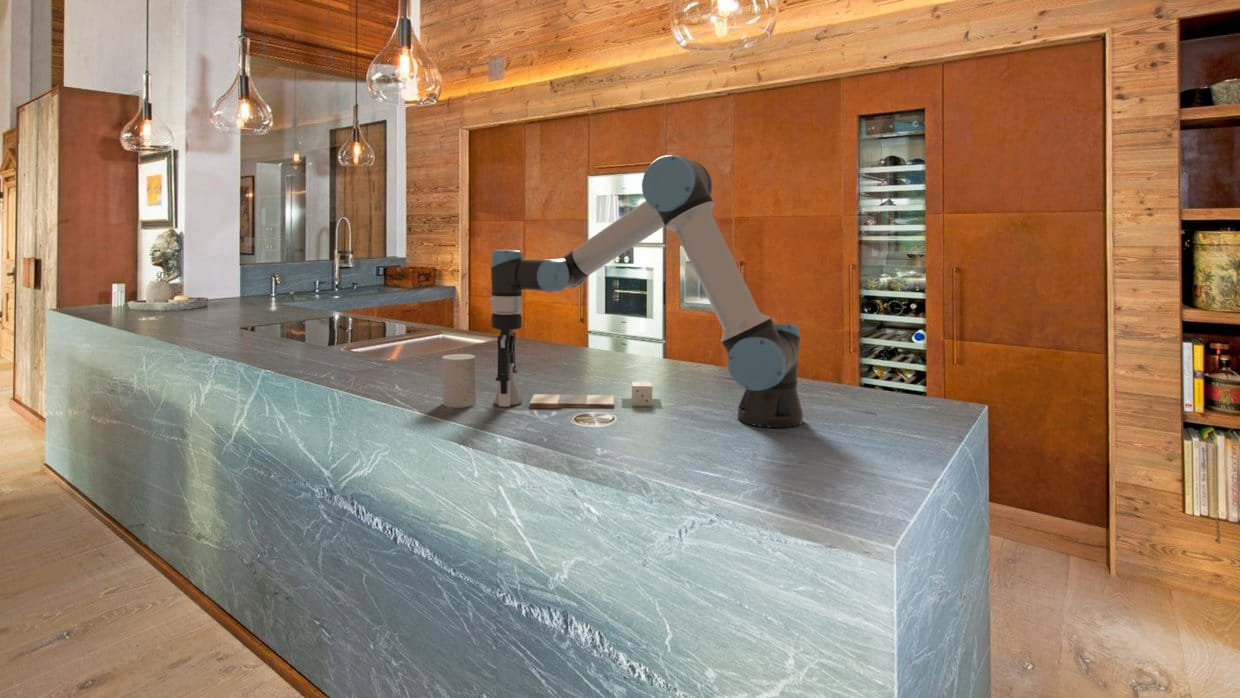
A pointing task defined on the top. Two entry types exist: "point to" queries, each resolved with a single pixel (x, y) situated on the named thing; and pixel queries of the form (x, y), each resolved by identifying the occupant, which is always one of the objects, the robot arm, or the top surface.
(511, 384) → the flask
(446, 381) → the white upright cylinder
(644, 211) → the robot arm
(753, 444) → the top surface
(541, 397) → the board
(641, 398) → the die
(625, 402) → the mat
